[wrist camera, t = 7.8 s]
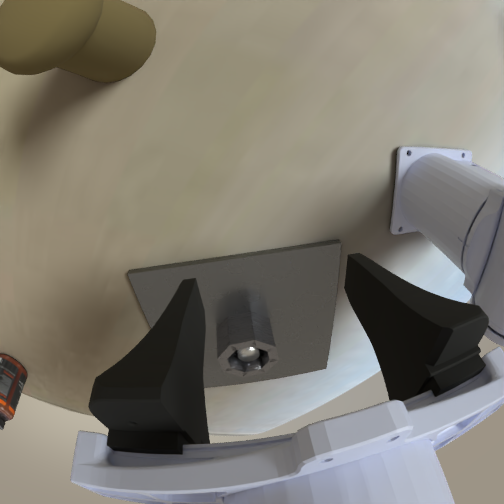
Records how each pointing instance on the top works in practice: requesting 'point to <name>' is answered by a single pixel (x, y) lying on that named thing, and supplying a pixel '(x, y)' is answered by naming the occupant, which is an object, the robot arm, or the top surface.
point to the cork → (75, 37)
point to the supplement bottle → (10, 387)
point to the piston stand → (257, 303)
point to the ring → (246, 344)
